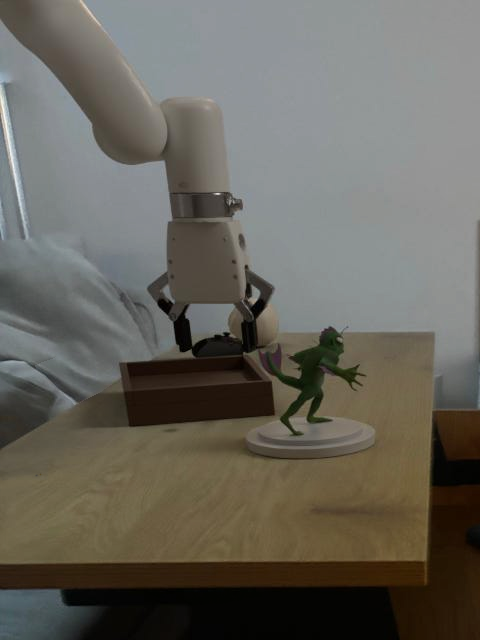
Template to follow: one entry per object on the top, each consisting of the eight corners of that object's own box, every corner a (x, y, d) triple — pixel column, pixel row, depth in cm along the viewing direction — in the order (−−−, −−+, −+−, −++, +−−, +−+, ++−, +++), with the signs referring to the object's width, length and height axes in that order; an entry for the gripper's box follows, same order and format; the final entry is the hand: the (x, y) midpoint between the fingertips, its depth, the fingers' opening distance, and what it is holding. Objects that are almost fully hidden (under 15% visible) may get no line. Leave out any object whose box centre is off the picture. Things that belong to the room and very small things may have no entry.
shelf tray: (129, 426, 99) (123, 391, 97) (123, 393, 114) (118, 362, 112) (275, 414, 103) (271, 380, 102) (251, 384, 118) (248, 354, 117)
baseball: (233, 343, 147) (228, 296, 144) (282, 342, 147) (278, 295, 144) (227, 350, 141) (221, 301, 138) (279, 349, 141) (274, 300, 138)
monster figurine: (399, 444, 91) (394, 330, 87) (281, 465, 85) (269, 343, 81) (337, 421, 100) (330, 316, 96) (226, 438, 94) (213, 327, 89)
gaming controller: (187, 350, 135) (215, 316, 134) (219, 377, 138) (247, 344, 137) (192, 362, 127) (222, 326, 126) (225, 390, 129) (255, 354, 129)
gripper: (277, 208, 127) (289, 347, 134) (146, 208, 128) (165, 346, 136) (260, 210, 120) (273, 356, 128) (122, 210, 122) (144, 355, 129)
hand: (218, 350), depth 132 cm, fingers closed on gaming controller, 8 cm apart
